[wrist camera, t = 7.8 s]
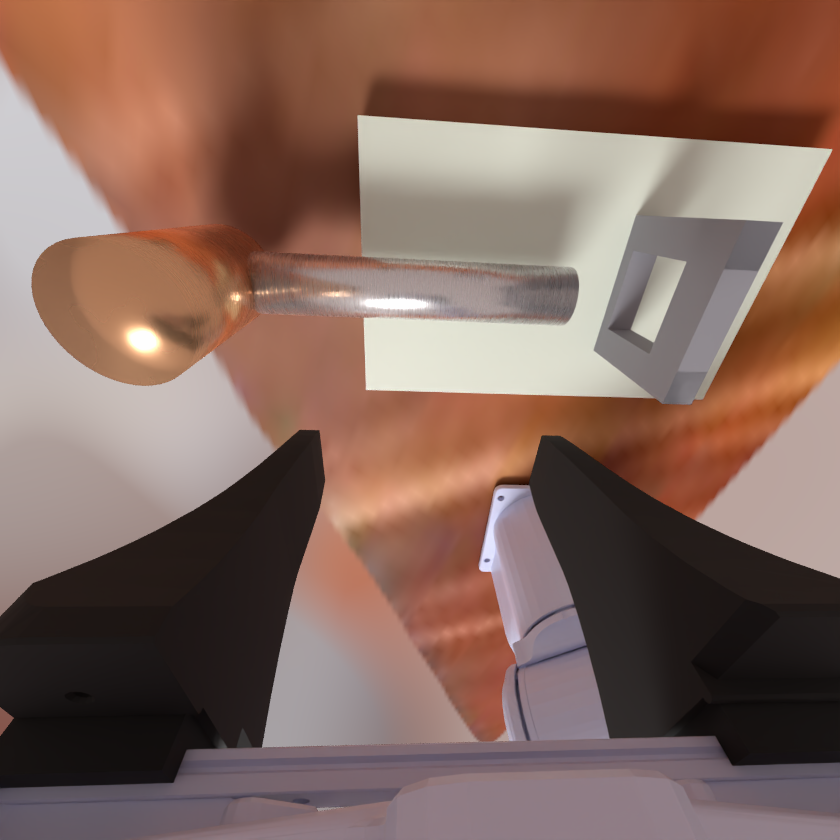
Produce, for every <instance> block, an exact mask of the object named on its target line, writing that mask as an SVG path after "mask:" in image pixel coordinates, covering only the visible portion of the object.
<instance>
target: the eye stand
mask: <svg viewBox="0 0 840 840" xmlns="http://www.w3.org/2000/svg"><path fill="white" fill-rule="evenodd" d="M358 147H359V179H360V211H361V242H362V257H380V258H400V259H420V260H440V261H460V262H480V263H500V264H520V265H540V266H560V267H573V268H574V269H575V270H576V271H577V274H578V278H579V294H578V300H577V304H576V307H575V310H574V312H573V315H572V317H571V318H570V320H569V321H568V322H567V323H566V324H565V325H563V326H555V325H531V324H506V323H481V322H457V321H432V320H407V319H383V318H364V338H365V370H366V390H391V391H425V392H459V393H493V394H527V395H561V396H595V397H629V398H656V399H657V400H658V401H659V402H661V403H662V404H687V405H691V404H692V402H693V400H694V399H697V400H703V398H704V396H705V394H706V392H707V390H708V388H709V386H710V384H711V383H712V381H713V379H714V377H715V375H716V373H717V371H718V369H719V367H720V365H721V363H722V361H723V359H724V358H725V356H726V354H727V352H728V350H729V348H730V346H731V344H732V342H733V340H734V338H735V336H736V334H737V332H738V331H739V329H740V327H741V325H742V323H743V321H744V319H745V317H746V315H747V313H748V311H749V309H750V307H751V306H752V304H753V302H754V300H755V298H756V296H757V294H758V292H759V290H760V288H761V286H762V284H763V282H764V281H765V279H766V277H767V275H768V273H769V271H770V269H771V267H772V265H773V263H774V261H775V259H776V257H777V256H778V254H779V252H780V250H781V248H782V246H783V244H784V242H785V240H786V238H787V236H788V234H789V232H790V231H791V229H792V227H793V225H794V223H795V221H796V219H797V217H798V215H799V213H800V211H801V209H802V207H803V205H804V204H805V202H806V200H807V198H808V196H809V194H810V192H811V190H812V188H813V186H814V184H815V182H816V180H817V179H818V177H819V175H820V173H821V171H822V169H823V167H824V165H825V163H826V161H827V159H828V157H829V155H830V154H831V152H832V150H833V149H821V148H808V147H794V146H780V145H766V144H752V143H738V142H724V141H710V140H696V139H682V138H668V137H654V136H641V135H627V134H613V133H599V132H585V131H571V130H557V129H543V128H529V127H515V126H501V125H487V124H473V123H460V122H446V121H432V120H418V119H404V118H390V117H376V116H362V115H358Z"/></svg>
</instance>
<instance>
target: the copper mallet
mask: <svg viewBox="0 0 840 840" xmlns="http://www.w3.org/2000/svg"><path fill="white" fill-rule="evenodd" d="M32 293H33V298H34V302H35V305H36V308H37V310H38V313H39V315H40V317H41V319H42V321H43V322H44V324H45V326H46V327H47V329H48V330H49V332H50V333H51V334H52V336H53V337H54V338H55V339H56V340H57V342H58V343H59V344H60V345H61V346H62V347H63V348H64V349H65V350H66V351H67V352H68V353H69V354H71V355H72V356H73V357H74V358H75V359H76V360H78V361H79V362H81V363H82V364H84V365H85V366H86V367H88V368H90V369H92V370H93V371H95V372H97V373H99V374H101V375H103V376H105V377H108V378H110V379H113V380H116V381H119V382H122V383H127V384H133V385H142V386H149V385H157V384H162V383H165V382H168V381H171V380H173V379H175V378H176V377H178V376H179V375H181V374H182V373H183V372H185V371H186V370H187V369H189V368H190V367H191V366H193V365H194V364H195V363H196V362H198V361H199V360H201V359H202V358H203V357H205V356H206V355H207V354H209V353H210V352H211V351H212V350H214V349H215V348H216V347H218V346H219V345H220V344H222V343H223V342H224V341H226V340H227V339H228V338H230V337H231V336H232V335H234V334H235V333H236V332H238V331H239V330H240V329H242V328H243V327H244V326H246V325H247V324H248V323H250V322H251V321H252V320H254V319H255V318H256V317H258V316H259V315H260V314H284V315H309V316H333V317H358V318H383V319H407V320H432V321H457V322H481V323H506V324H531V325H555V326H563V325H565V324H566V323H567V322H568V321H569V320H570V318H571V317H572V315H573V312H574V310H575V307H576V304H577V300H578V294H579V278H578V274H577V271H576V270H575V269H574V268H573V267H560V266H540V265H520V264H500V263H480V262H460V261H440V260H420V259H400V258H380V257H360V256H340V255H320V254H300V253H280V252H264V251H263V249H262V248H261V247H260V246H259V245H258V244H257V242H256V241H254V240H253V239H252V238H251V237H250V236H248V235H247V234H245V233H244V232H242V231H240V230H238V229H236V228H234V227H231V226H227V225H221V224H210V225H199V226H189V227H179V228H169V229H159V230H149V231H139V232H129V233H118V234H108V235H98V236H88V237H78V238H71V239H65V240H62V241H59V242H57V243H55V244H54V245H51V246H50V247H48V248H47V249H46V250H45V251H44V252H43V253H42V254H41V255H40V257H39V258H38V259H37V261H36V264H35V266H34V268H33V273H32Z"/></svg>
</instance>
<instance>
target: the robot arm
mask: <svg viewBox="0 0 840 840" xmlns="http://www.w3.org/2000/svg"><path fill="white" fill-rule="evenodd" d="M324 483H325V475H324V467H323V458H322V449H321V440H320V432H319V430H299V431H298V432H297V433H296V434H294V435H293V436H292V437H291V438H290V439H289V440H288V441H286V442H285V443H284V444H283V445H282V446H281V447H280V448H278V449H277V450H276V451H275V452H274V453H273V454H271V455H270V456H269V457H268V458H267V459H265V460H264V461H263V462H262V463H261V464H260V465H258V466H257V467H256V468H254V469H253V470H252V471H250V472H249V473H248V474H246V475H245V476H244V477H243V478H241V479H240V480H239V481H237V482H236V483H235V484H233V485H232V486H230V487H229V488H228V489H226V490H225V491H224V492H222V493H220V494H219V495H217V496H216V497H214V498H213V499H211V500H209V501H208V502H206V503H205V504H203V505H201V506H200V507H198V508H196V509H195V510H194V511H191V512H190V513H188V514H186V515H184V516H182V517H180V518H178V519H177V520H175V521H173V522H171V523H169V524H167V525H166V526H164V527H162V528H160V529H158V530H156V531H154V532H152V533H150V534H148V535H146V536H144V537H142V538H140V539H138V540H136V541H134V542H132V543H129V544H127V545H125V546H123V547H121V548H118V549H117V550H114V551H112V552H110V553H107V554H105V555H103V556H100V557H98V558H96V559H93V560H91V561H88V562H86V563H83V564H81V565H78V566H76V567H73V568H71V569H68V570H66V571H63V572H61V573H58V574H56V575H53V576H51V577H48V578H46V579H43V580H40V581H38V582H35V583H33V584H32V585H31V586H30V587H29V588H28V589H27V590H26V591H25V592H24V593H23V594H22V595H21V596H20V597H19V598H18V599H17V600H16V601H15V602H14V603H13V604H12V605H11V606H10V607H9V608H8V609H7V610H6V611H5V612H4V613H3V614H2V615H1V616H0V707H1V708H2V709H3V710H5V711H6V712H7V713H9V714H10V715H11V716H12V717H14V719H13V720H12V722H11V723H10V724H9V725H8V727H7V728H6V730H5V731H4V732H3V734H2V735H1V736H0V840H840V578H837V577H834V576H831V575H828V574H825V573H823V572H820V571H817V570H814V569H811V568H808V567H805V566H802V565H800V564H797V563H794V562H791V561H788V560H786V559H783V558H780V557H778V556H775V555H773V554H770V553H768V552H765V551H763V550H760V549H758V548H755V547H753V546H750V545H748V544H746V543H743V542H741V541H739V540H736V539H734V538H732V537H729V536H727V535H725V534H723V533H721V532H719V531H716V530H714V529H712V528H710V527H708V526H706V525H703V524H701V523H699V522H697V521H695V520H693V519H691V518H689V517H687V516H685V515H683V514H682V513H680V512H678V511H676V510H674V509H672V508H671V507H669V506H667V505H665V504H663V503H661V502H660V501H658V500H656V499H654V498H653V497H651V496H649V495H648V494H646V493H644V492H643V491H641V490H640V489H638V488H636V487H635V486H633V485H632V484H630V483H628V482H627V481H625V480H624V479H622V478H621V477H619V476H618V475H616V474H615V473H613V472H612V471H611V470H609V469H608V468H606V467H605V466H603V465H602V464H600V463H599V462H598V461H596V460H595V459H593V458H592V457H591V456H589V455H588V454H586V453H585V452H584V451H582V450H581V449H579V448H578V447H576V446H575V445H574V444H572V443H571V442H569V441H568V440H566V439H564V438H563V437H561V436H542V437H541V440H540V444H539V448H538V452H537V455H536V459H535V463H534V466H533V470H532V474H531V477H530V481H529V485H499V486H497V487H496V488H495V490H494V494H493V499H492V503H491V508H490V513H489V518H488V523H487V527H486V532H485V537H484V542H483V546H482V551H481V556H480V561H479V569H480V570H481V571H484V572H491V573H492V577H493V582H494V586H495V590H496V594H497V599H498V603H499V607H500V612H501V616H502V620H503V624H504V629H505V633H506V637H507V640H508V642H509V645H510V647H511V648H512V650H513V652H514V653H515V657H516V662H517V664H513V665H511V666H509V667H508V669H507V671H506V675H505V681H504V684H503V690H502V703H503V712H504V718H505V724H506V728H507V733H508V737H509V741H498V742H461V743H460V742H459V743H422V744H421V743H420V744H384V745H383V744H381V745H342V746H305V747H304V746H303V747H264V748H262V744H263V738H264V732H265V727H266V721H267V715H268V710H269V704H270V699H271V693H272V687H273V683H274V678H275V673H276V667H277V662H278V657H279V652H280V647H281V643H282V638H283V633H284V629H285V624H286V619H287V615H288V610H289V606H290V602H291V597H292V593H293V589H294V585H295V581H296V578H297V574H298V571H299V568H300V565H301V562H302V559H303V556H304V553H305V550H306V547H307V544H308V541H309V538H310V535H311V533H312V530H313V526H314V523H315V520H316V518H317V515H318V511H319V508H320V504H321V499H322V494H323V489H324ZM499 496H502V497H499ZM322 807H323V808H324V807H344V808H338V809H331V810H324V811H318V810H317V808H322Z"/></svg>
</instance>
